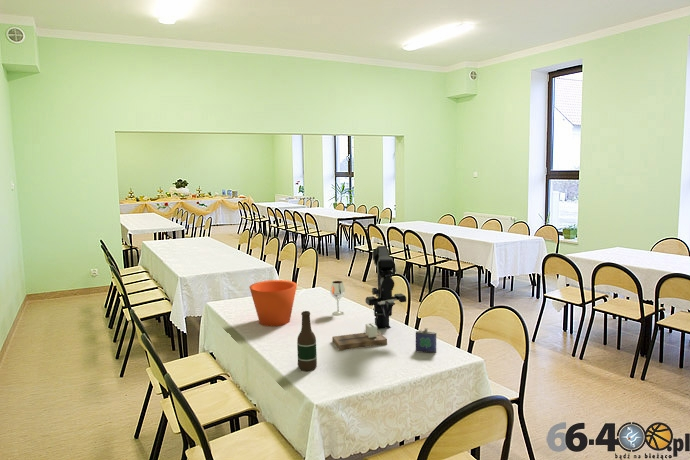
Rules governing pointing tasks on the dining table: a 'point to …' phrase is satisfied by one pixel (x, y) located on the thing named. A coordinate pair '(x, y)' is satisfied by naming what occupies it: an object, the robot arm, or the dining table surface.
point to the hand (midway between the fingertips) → (386, 317)
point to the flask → (426, 341)
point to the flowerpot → (273, 301)
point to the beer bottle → (306, 345)
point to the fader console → (358, 341)
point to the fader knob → (371, 330)
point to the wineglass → (337, 294)
